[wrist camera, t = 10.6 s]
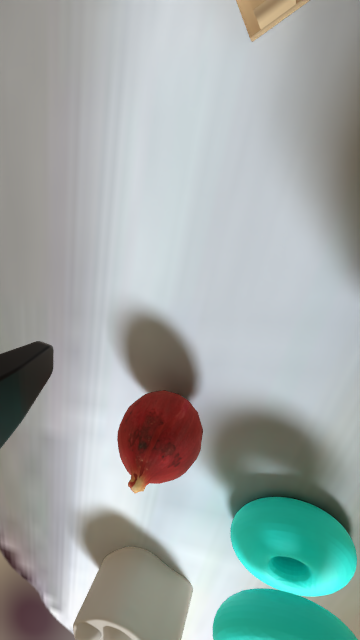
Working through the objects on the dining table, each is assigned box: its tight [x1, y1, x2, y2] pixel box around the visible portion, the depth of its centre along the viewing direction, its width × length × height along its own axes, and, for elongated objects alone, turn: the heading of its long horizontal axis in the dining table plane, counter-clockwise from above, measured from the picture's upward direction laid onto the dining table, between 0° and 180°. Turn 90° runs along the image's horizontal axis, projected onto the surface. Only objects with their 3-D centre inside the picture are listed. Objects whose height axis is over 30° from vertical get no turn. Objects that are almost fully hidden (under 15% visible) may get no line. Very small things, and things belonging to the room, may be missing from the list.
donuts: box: [213, 497, 358, 640], centre depth 26 cm, size 10×10×10 cm
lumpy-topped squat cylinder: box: [73, 546, 193, 640], centre depth 39 cm, size 10×13×9 cm
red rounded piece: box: [118, 390, 203, 493], centre depth 24 cm, size 6×6×8 cm
